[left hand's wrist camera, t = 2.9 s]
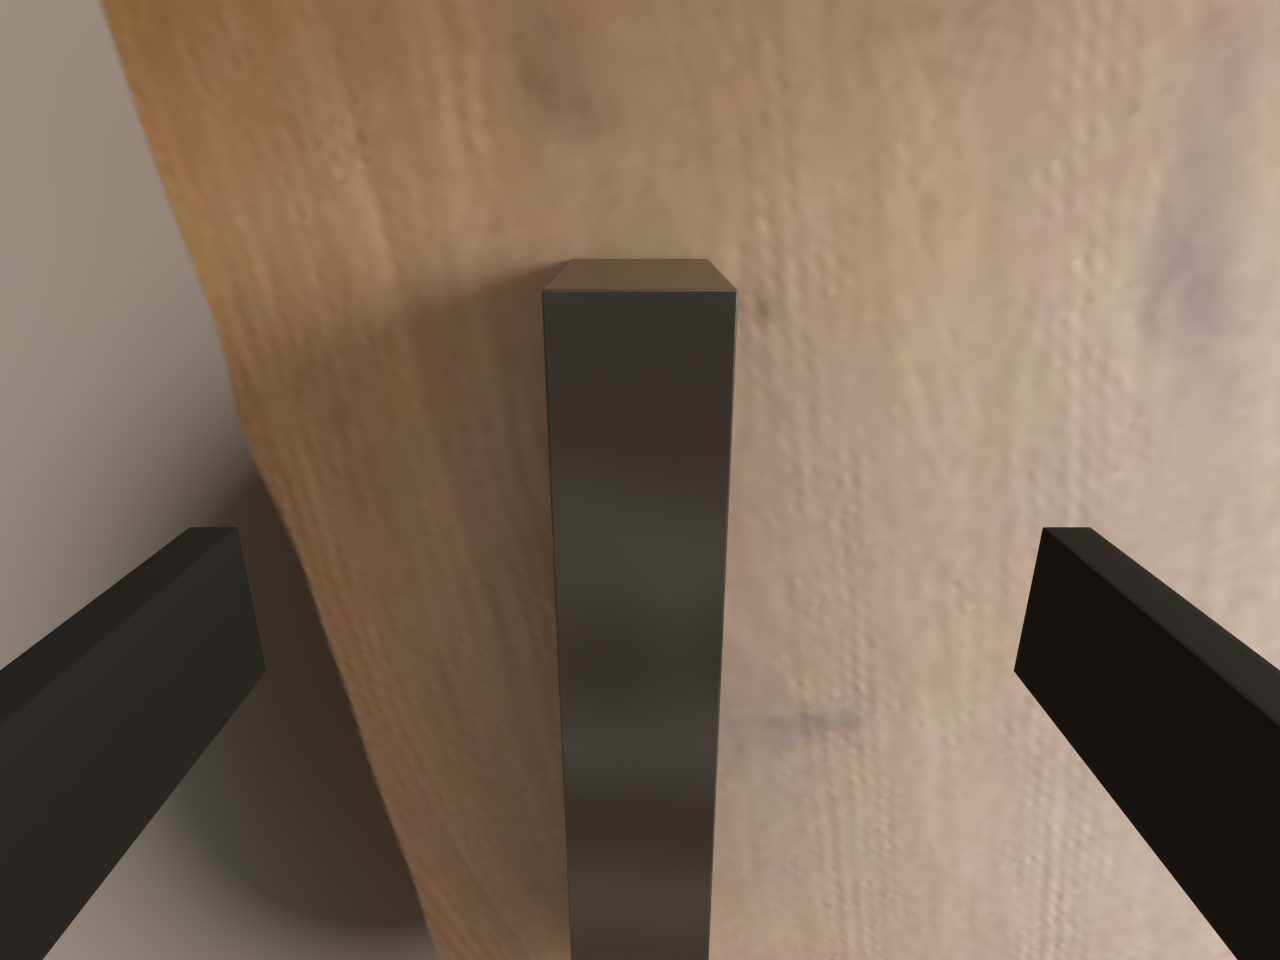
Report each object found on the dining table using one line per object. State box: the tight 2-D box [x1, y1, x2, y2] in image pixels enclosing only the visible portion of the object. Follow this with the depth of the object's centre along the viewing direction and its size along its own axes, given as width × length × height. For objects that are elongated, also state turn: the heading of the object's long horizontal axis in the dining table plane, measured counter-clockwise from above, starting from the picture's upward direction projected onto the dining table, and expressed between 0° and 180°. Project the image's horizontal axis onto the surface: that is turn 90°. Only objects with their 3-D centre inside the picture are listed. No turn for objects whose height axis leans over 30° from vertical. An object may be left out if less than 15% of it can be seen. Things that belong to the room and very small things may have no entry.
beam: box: [542, 259, 738, 960], centre depth 30 cm, size 34×5×9 cm, turn 0°
